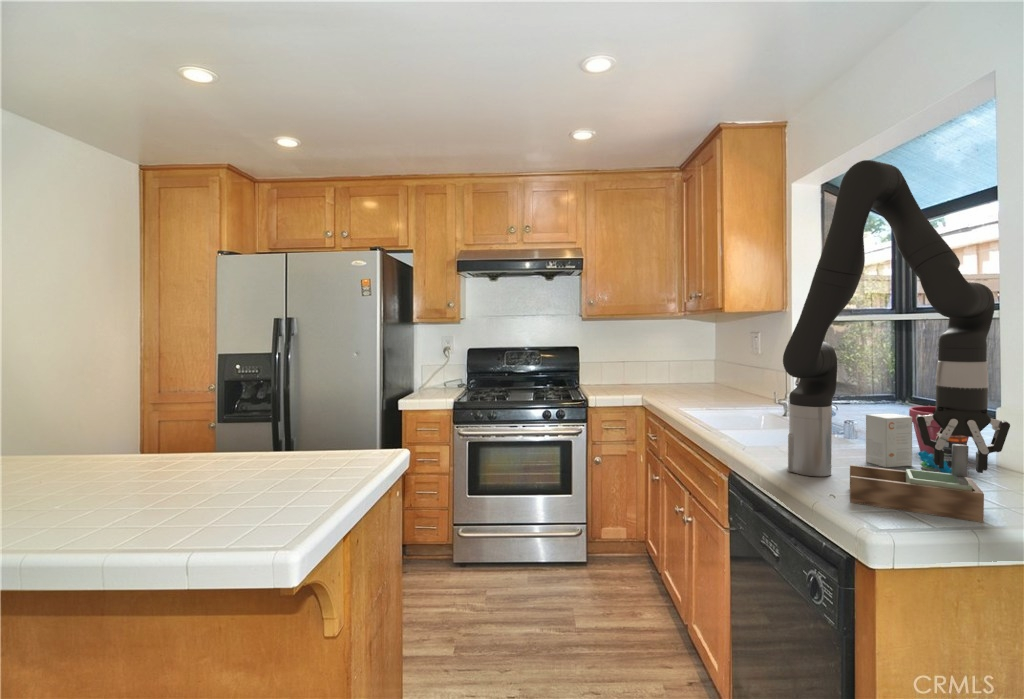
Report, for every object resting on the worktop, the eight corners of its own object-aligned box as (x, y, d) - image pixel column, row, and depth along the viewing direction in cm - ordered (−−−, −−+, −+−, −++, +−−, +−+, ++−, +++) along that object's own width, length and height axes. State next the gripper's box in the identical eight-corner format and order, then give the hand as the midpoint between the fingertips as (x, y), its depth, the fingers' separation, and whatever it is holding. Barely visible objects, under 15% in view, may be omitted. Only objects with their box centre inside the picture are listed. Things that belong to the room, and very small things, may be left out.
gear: (979, 484, 108) (938, 450, 110) (957, 503, 108) (918, 468, 111) (947, 477, 118) (911, 446, 121) (928, 493, 119) (892, 462, 121)
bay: (850, 502, 103) (850, 476, 103) (849, 488, 112) (850, 464, 112) (983, 522, 91) (984, 493, 91) (970, 504, 100) (971, 478, 100)
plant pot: (934, 461, 133) (935, 414, 132) (896, 448, 147) (897, 406, 146) (990, 461, 132) (991, 413, 132) (946, 448, 146) (947, 405, 146)
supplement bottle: (963, 466, 127) (964, 423, 127) (969, 472, 122) (970, 427, 122) (933, 463, 130) (934, 421, 130) (938, 469, 125) (938, 425, 125)
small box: (890, 459, 135) (891, 412, 134) (912, 466, 128) (913, 416, 128) (864, 461, 133) (865, 414, 133) (885, 468, 127) (886, 418, 127)
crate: (909, 503, 98) (910, 444, 98) (905, 491, 105) (906, 437, 105) (971, 512, 93) (972, 450, 93) (963, 499, 100) (964, 442, 100)
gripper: (916, 384, 97) (915, 469, 98) (1018, 388, 89) (1016, 480, 90) (912, 380, 103) (911, 460, 104) (1007, 384, 95) (1005, 470, 96)
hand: (959, 469), depth 97 cm, fingers open, 5 cm apart
